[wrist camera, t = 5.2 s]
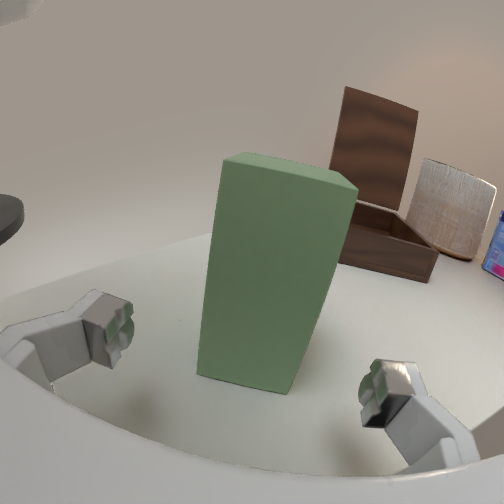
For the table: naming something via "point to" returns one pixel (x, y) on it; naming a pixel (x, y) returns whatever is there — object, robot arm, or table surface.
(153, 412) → the table surface
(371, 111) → the chest lid
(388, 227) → the chest
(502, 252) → the ink cartridge box
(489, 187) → the planter
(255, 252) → the block
